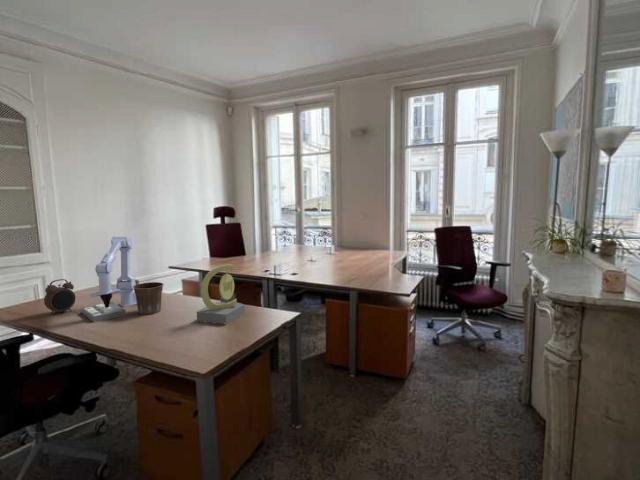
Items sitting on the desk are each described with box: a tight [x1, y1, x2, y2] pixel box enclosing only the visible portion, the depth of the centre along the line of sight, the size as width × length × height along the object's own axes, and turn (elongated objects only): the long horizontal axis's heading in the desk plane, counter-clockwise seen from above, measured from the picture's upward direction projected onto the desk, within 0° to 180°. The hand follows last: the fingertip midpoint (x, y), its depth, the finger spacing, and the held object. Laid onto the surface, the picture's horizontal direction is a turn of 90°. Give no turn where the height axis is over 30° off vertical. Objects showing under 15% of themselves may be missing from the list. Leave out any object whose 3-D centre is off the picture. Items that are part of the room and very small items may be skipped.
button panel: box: [81, 301, 127, 323], centre depth 201 cm, size 16×24×3 cm, turn 47°
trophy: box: [196, 264, 246, 325], centre depth 192 cm, size 19×19×30 cm
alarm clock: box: [43, 278, 76, 316], centre depth 204 cm, size 14×7×20 cm, turn 151°
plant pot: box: [133, 281, 164, 315], centre depth 205 cm, size 16×16×16 cm
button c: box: [102, 307, 112, 313], centre depth 197 cm, size 4×4×3 cm
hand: (106, 307), depth 196 cm, fingers closed
